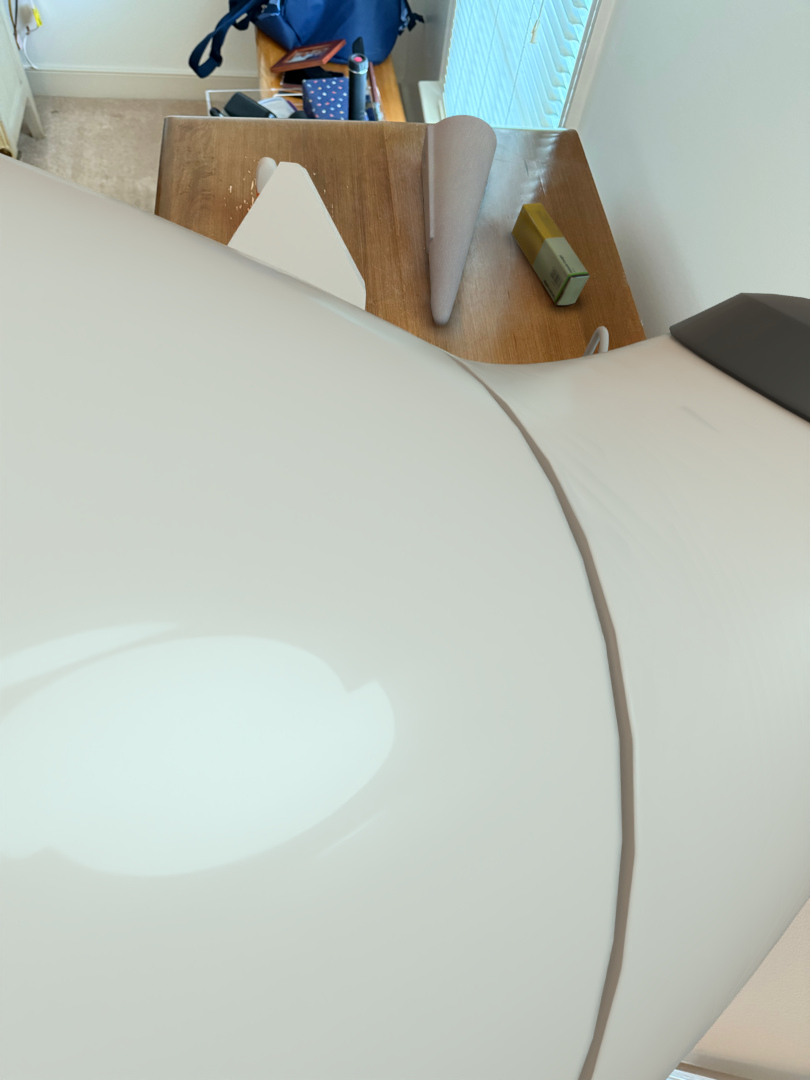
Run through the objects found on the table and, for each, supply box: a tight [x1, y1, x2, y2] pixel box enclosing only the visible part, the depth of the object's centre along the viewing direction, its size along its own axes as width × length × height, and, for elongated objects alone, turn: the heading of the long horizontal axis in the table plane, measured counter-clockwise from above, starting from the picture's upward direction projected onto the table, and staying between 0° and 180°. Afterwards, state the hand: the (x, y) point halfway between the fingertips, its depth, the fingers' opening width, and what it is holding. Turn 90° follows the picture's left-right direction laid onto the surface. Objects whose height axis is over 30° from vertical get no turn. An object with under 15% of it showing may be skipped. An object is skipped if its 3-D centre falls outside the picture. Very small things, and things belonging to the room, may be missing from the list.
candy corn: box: [255, 156, 278, 199], centre depth 78 cm, size 6×3×8 cm, turn 3°
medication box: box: [511, 202, 591, 307], centre depth 81 cm, size 12×3×4 cm, turn 22°
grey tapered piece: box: [421, 114, 498, 326], centre depth 81 cm, size 8×9×26 cm
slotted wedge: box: [226, 161, 367, 311], centre depth 69 cm, size 14×11×18 cm
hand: (544, 448), depth 46 cm, fingers open, 8 cm apart
